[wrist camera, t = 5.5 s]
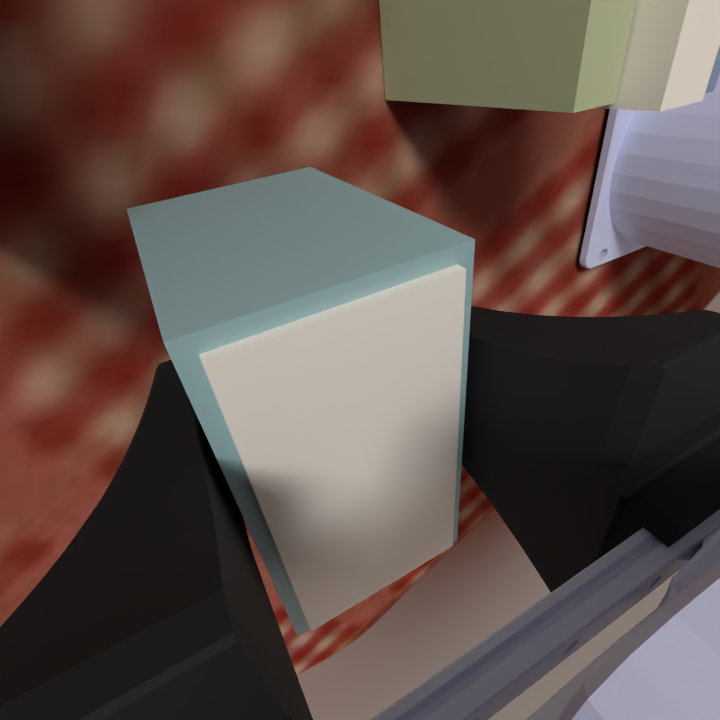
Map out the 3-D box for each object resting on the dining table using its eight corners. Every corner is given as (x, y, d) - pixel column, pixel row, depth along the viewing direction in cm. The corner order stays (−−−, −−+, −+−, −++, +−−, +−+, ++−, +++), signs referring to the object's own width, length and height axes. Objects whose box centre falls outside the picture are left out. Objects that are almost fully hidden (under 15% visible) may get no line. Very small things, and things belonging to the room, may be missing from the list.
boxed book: (310, 166, 11) (484, 243, 6) (348, 401, 16) (461, 546, 11) (126, 208, 9) (165, 350, 5) (229, 452, 14) (300, 644, 10)
